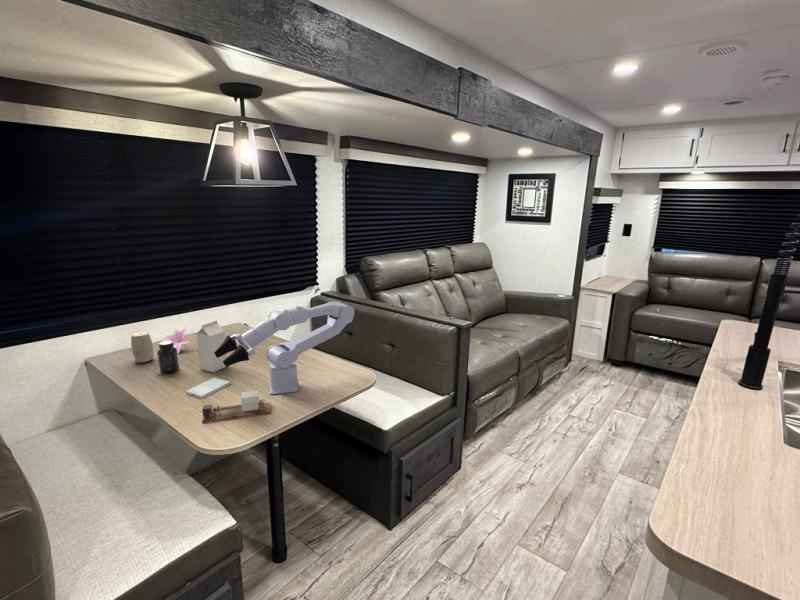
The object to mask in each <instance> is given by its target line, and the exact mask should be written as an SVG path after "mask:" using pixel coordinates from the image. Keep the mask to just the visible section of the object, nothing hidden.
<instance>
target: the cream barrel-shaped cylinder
mask: <svg viewBox="0 0 800 600" xmlns="http://www.w3.org/2000/svg"><path fill="white" fill-rule="evenodd" d="M152 340H153V339H152V338H151V335H150V333H149V332H146V331H138V332H134V333H133V334H131V336H130V345H131V351H132V352H131V353H132V355H133V357H134V359H135V362H137V363H138V362H139V363H140V364H141V363H142V362H143V363H147V362H149V361H151V360H153V358H154V357H155V351H154V346H153V341H152Z"/></svg>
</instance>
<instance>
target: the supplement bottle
mask: <svg viewBox="0 0 800 600" xmlns="http://www.w3.org/2000/svg"><path fill="white" fill-rule="evenodd" d="M158 348H159V349H158V350H157V352H156V354H157V361H158V368H159V372H160V374H162V375H173V374H175V373H178V371H180V362H179V354H178V352H177V349H176V348H175V347H174V344H173V341H170V340H168V341H165V340H162V341H161V342H159V343H158Z"/></svg>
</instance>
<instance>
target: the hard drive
mask: <svg viewBox="0 0 800 600" xmlns="http://www.w3.org/2000/svg"><path fill="white" fill-rule="evenodd" d="M229 384H230V385H231V382H230V381H229V380H226V379H222V378H217V377H212V378H210V379H208V380H206V381H204V382H202V383H200V384H198V385H195V386H194V387H191V388H189V389H188V390H185V391H184V392H185V395H188V394H189V396H192V397H195V398H197V399H198V398H199V399H201V400H202V399H203V398H205V397H208V396H209V395H212V394H214V393H216V392H218V391H220V390H222V389H223V388H226V387H228V386H230V385H229ZM227 385H228V386H227Z"/></svg>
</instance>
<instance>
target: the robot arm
mask: <svg viewBox="0 0 800 600" xmlns="http://www.w3.org/2000/svg"><path fill="white" fill-rule="evenodd" d="M326 315H327V320H326V321H327V323H326V324H324V325H323V326H320V327H318V328H316V329H314V330H312V331H309V332H308V333H306V334H304V335H302V336H300V337H297V338H296V339H294V340H292V341H287V342H286V341H285V342H282V343H277V344H275V343H274V344H272V345H270V346H269V347H268V348H267V349H266V352H265V356H266V359H267V360H268V361H269V377H270V384H269V395H277V394H278V395H279V394H285V393H286V394H287V393H296V392H298V391H299V389H298V388H299V386H298V384H299V378H298V368H297V364H296V363H294V362H296V361H298V359H299V355H301V354H303V353H305V352H307V351H309V350H310V349H312V348H315V347H316V346H318V345H320V344H322V343H324V342H326V341H328V340H330V339H332V338H333V337H335V336H337V335H339V334H340V333H341V332H342V330H343V329H344V328H345V327H346V326H347V325H349V324H350V323H352V322H353V319H354V315H355V308H354V307H353V306H351V305H347V304H346V303H342V302H341V301H339V300H334V301H328V302H326V303H323V304H320V305H317V306H313V307H309V308H305V307H303V306H300V305H296V306H295V308H290V309H283V311H281V310H275V311H270V313H269V314H268V315H267V318H266V319H264V320H262V321H261V322H260V323H258V324H256V325H255V326H253V327H252V328H250V329H248V330H247V331H245V332H244V333H242V334H240V333H237V334H236V333H234V334H232V335H227V336H225V341H224V342H223V343H222V345H221V346H220V347H219V348H218V349H217V350H216V351H215V352H214V354H215V356H216V357H217V358H219V357H221V356H223V355H225V354H226V355H227V354H228V353H231V352H232V353H231V354H229V355H228V356H227V358H226V359H224V360H223V363H224V365H225V366H226V367H225V368H227V367H230V366H232V365H235V364H237V363H242V362H247V361H249V360H250V358H249V357H252V356H255V354H256V351H255V349H254V348H256V347H257V346H258V345H260V344H262V343H263V342H265V341H266V340H267V339H269V338H270V337H272V336H274V335H275V334H276V333H277V332H279V331H287V330H288V329H289V328H290V327H293V326H296V325H300V324H304V323H307V322H308V320H309V319H311V318H316V317H321V316H326Z"/></svg>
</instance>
